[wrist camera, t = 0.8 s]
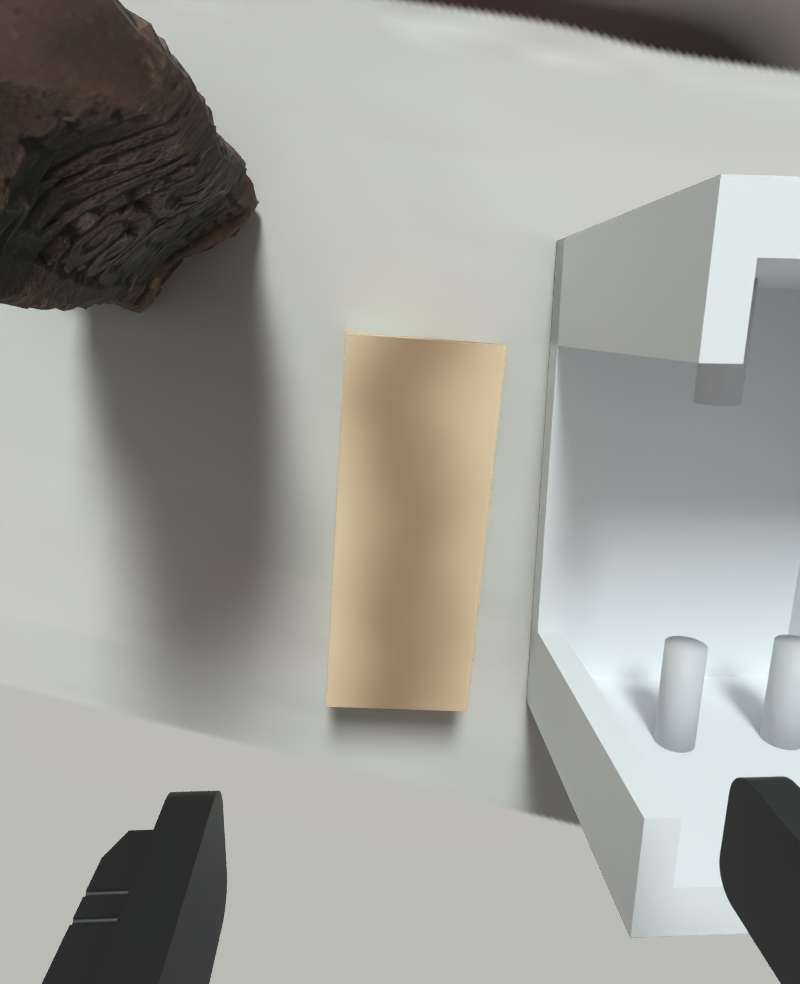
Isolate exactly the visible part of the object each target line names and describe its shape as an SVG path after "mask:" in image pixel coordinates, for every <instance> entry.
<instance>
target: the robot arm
mask: <svg viewBox="0 0 800 984" xmlns="http://www.w3.org/2000/svg"><path fill="white" fill-rule="evenodd" d="M226 868H227V867H226V851H225V834H224V817H223V802H222V796H221V792H220V791H196V792H171V793H169V795H168V796H167V798H166V800H165V803H164V805H163V807H162V810H161V812H160V815H159V817H158V820H157V822H156V825H155V827H154V830H136V831H135V830H132V831H128V832H127V833H126V834H125V836H123V837H122V838H121V839H120V840H119V841H118V842H117V843H116V844H115V845H114V846H113V847H112V849H110V850H109V852H107V853H106V854H105V855H104V856H103V857H102V859H101V861H100V863H99V865H98V867H97V869H96V871H95V873H94V875H93V878H92V880H91V882H90V884H89V886H88V888H87V890H86V896H85V897H83V898H82V901H81V903H80V905H79V907H78V909H77V911H76V913H75V915H74V917H73V924H72V925H70V926H69V928H68V930H67V932H66V934H65V936H64V938H63V941H62V942H61V945H60V947H59V949H58V951H57V953H56V955H55V957H54V959H53V961H52V963H51V966H50V968H49V970H48V972H47V974H46V976H45V978H44V980H43V982H42V984H209V982H210V977H211V973H212V968H213V964H214V960H215V955H216V951H217V946H218V942H219V937H220V933H221V928H222V924H223V918H224V912H225V904H226V892H227V869H226ZM719 868H720V876H721V880H722V885H723V888H724V891H725V893H726V896H727V898H728V900H729V902H730V904H731V906H732V908H733V909H734V911H735V912H736V914H737V915H738V917H739V918H740V920H741V922H742V923H743V925H744V926H745V928H746V929H747V931H748V933H749V934H750V936H751V937H752V939H753V940H754V942H755V943H756V945H757V947H758V948H759V950H760V951H761V953H762V955H763V956H764V957H765V959H766V961H767V962H768V964H769V966H770V967H771V969H772V970H773V972H774V973H775V975H776V977H777V978H778V980H779V981H780V983H781V984H800V787H799V786H798V785H797V784H796V783H795V782H794V781H793V780H791V779H790V778H788V777H785V776H773V777H739V778H736V779H735V780H734V781H733V782H732V784H731V786H730V791H729V797H728V803H727V810H726V817H725V823H724V830H723V837H722V843H721V850H720V858H719Z"/></svg>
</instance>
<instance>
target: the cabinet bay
mask: <svg viewBox="0 0 800 984" xmlns="http://www.w3.org/2000/svg"><path fill="white" fill-rule="evenodd" d="M526 701H527V703H528V705H529V708H530V710H531V712H532V714H533V717H534V719H535V721H536V724H537V726H538V728H539V730H540V733H541V735H542V737H543V740H544V742H545V744H546V746H547V749H548V751H549V753H550V756H551V758H552V760H553V762H554V765H555V767H556V769H557V772H558V774H559V776H560V778H561V781H562V783H563V785H564V788H565V790H566V792H567V794H568V797H569V799H570V801H571V804H572V806H573V808H574V810H575V813H576V815H577V817H578V820H579V822H580V824H581V826H582V829H583V831H584V833H585V835H586V838H587V840H588V842H589V845H590V847H591V849H592V851H593V854H594V856H595V858H596V861H597V863H598V865H599V867H600V870H601V872H602V874H603V877H604V879H605V881H606V883H607V886H608V888H609V890H610V893H611V895H612V897H613V899H614V902H615V904H616V906H617V909H618V911H619V913H620V915H621V918H622V920H623V922H624V925H625V927H626V929H627V931H628V933H629V936H630V938H643V937H668V936H693V935H694V936H695V935H721V934H747V933H748V931H747V929H746V928H745V926H744V925H743V923H742V922H741V920H740V918H739V917H738V915H737V914H736V912H735V911H734V909H733V908H732V906H731V904H730V902H729V900H728V898H727V896H726V893H725V891H724V888H723V885H722V880H721V876H720V868H719V858H720V850H721V843H722V837H723V830H724V823H725V817H726V810H727V803H728V797H729V791H730V786H731V784H732V782H733V781H734V780H735V779H736V778H739V777H773V776H785V777H788V778H790V779H791V780H793V781H794V782H795V783H796V784H797V785H798V786H799V787H800V176H766V175H731V174H720V175H718V176H715V177H713V178H711V179H708V180H706V181H703V182H701V183H698V184H696V185H693V186H691V187H688V188H686V189H683V190H681V191H679V192H676V193H674V194H671V195H669V196H666V197H664V198H661V199H659V200H656V201H654V202H652V203H649V204H647V205H644V206H642V207H639V208H637V209H634V210H632V211H629V212H627V213H624V214H622V215H620V216H617V217H615V218H612V219H610V220H607V221H605V222H602V223H600V224H597V225H595V226H593V227H590V228H588V229H585V230H583V231H580V232H578V233H575V234H573V235H570V236H568V237H565V238H563V239H561V240H558V241H557V249H556V264H555V279H554V295H553V310H552V325H551V340H550V355H549V370H548V385H547V400H546V415H545V430H544V445H543V460H542V475H541V490H540V505H539V520H538V535H537V550H536V565H535V580H534V595H533V610H532V625H531V640H530V655H529V670H528V685H527V700H526Z"/></svg>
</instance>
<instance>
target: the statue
mask: <svg viewBox="0 0 800 984" xmlns="http://www.w3.org/2000/svg"><path fill="white" fill-rule="evenodd" d="M245 166H246V163H245V161H244V160H243V159H242V158H241V156H240V155H239V154H238V153H237V152H236V151H235V150H234V149H233V148H232V147H231V146H230V145H229V144H228V143H227V142H226V141H225V140H224V139H223V138H222V137H221V136H220V135H219V134H218V133H217V132H216V126H215V125H214V122H213V116H212V111H211V109H210V108H209V107H208V106H207V105H206V104H205V98H204V97H203V96H202V95H201V94H200V93H199V92H198V91H197V89H196V87H195V85H194V83H193V81H192V79H191V77H190V76H189V74H188V73H187V72H186V71H185V69H184V68H183V67H182V65H181V64H180V63H179V62H178V60H177V59H176V58H175V56H174V55H172V54H171V53H170V51H169V48H168V46H167V44H166V42H165V40H164V39H163V38H161V37H159V36H157V35H156V33H155V31H154V29H153V27H152V25H151V23H149V22H147V21H146V20H144V19H142V18H141V17H139V16H137V15H136V14H134V13H132V12H131V11H129V10H127V9H126V8H125V7H124V6H123V5H122V4H121V3H120V2H119V0H0V303H3V304H8V305H12V306H17V307H21V308H25V309H28V308H30V307H31V308H35V309H40V310H49V309H54V308H57V309H59V310H62V311H66V310H71V309H74V308H76V307H81V308H85V309H87V308H88V307H90V306H92V305H94V304H98V305H100V304H103V303H108V304H114V303H115V304H117V305H120V306H122V307H123V308H125V309H129V310H132V311H135V312H138V313H140V312H141V311H143V310H145V309H146V308H147V307H148V306H149V305H150V304H151V303H152V302H153V300H154V298H155V297H156V296H157V295H159V294H160V291H161V286H162V285H163V284H164V282H165V281H166V280H167V279H168V278H169V276H170V275H171V274H172V273H173V272H174V271H175V269H176V268H177V267H178V266H179V265H180V263H181V262H182V261H183V259H184V258H186V257H189V256H191V255H193V254H196V253H199V252H202V251H205V250H208V249H211V248H212V247H214V246H215V245H216V244H217V243H219V242H220V241H222V240H224V239H226V238H228V237H231V236H235V235H236V233H237V232H238V230H239V229H240V227H241V226H242V225H243V224H244V222H245V221H246V220H247V218H248V217H249V216H250V214H251V213H252V212H253V211H254V210H255V208H256V206H257V204H258V203H259V202H258V201H257V199H256V195H255V191H254V187H253V183H252V181H251V180H250V178H249V177H248V176H247V175H246V170H247V169H246V168H245Z"/></svg>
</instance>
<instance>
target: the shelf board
mask: <svg viewBox="0 0 800 984" xmlns="http://www.w3.org/2000/svg"><path fill="white" fill-rule="evenodd" d="M506 351H507V346H504V345H498V344H492V343H481V342H468V341H454V340H441V339H427V338H414V337H401V336H387V335H374V334H360V333H346V340H345V359H344V378H343V396H342V415H341V434H340V453H339V471H338V490H337V509H336V528H335V546H334V565H333V584H332V603H331V621H330V640H329V659H328V677H327V696H326V707H350V708H380V709H409V710H438V711H467V710H468V701H469V691H470V682H471V673H472V664H473V655H474V645H475V636H476V627H477V618H478V608H479V599H480V590H481V581H482V572H483V562H484V553H485V544H486V535H487V526H488V516H489V507H490V498H491V489H492V480H493V470H494V461H495V452H496V443H497V433H498V424H499V415H500V406H501V397H502V387H503V378H504V369H505V360H506Z"/></svg>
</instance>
